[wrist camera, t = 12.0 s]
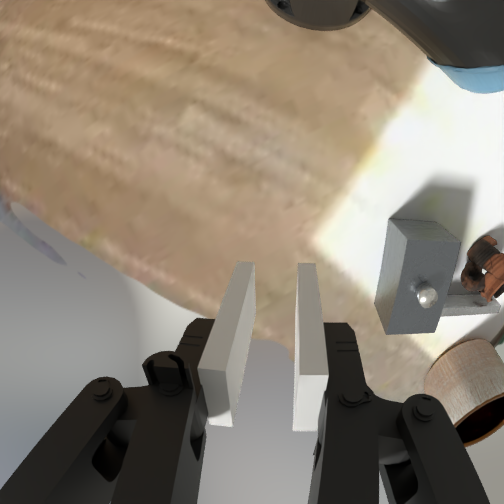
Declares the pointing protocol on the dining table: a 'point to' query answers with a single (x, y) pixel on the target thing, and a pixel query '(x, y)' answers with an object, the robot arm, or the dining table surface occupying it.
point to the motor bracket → (421, 279)
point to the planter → (470, 389)
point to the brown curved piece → (495, 263)
